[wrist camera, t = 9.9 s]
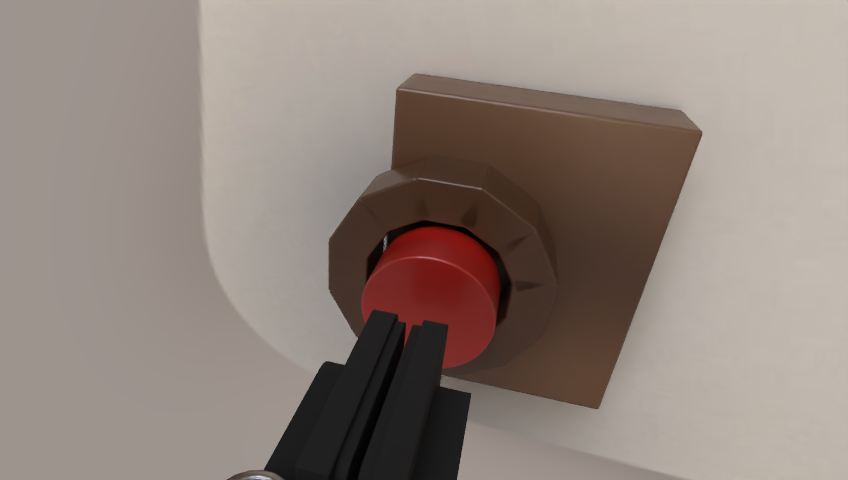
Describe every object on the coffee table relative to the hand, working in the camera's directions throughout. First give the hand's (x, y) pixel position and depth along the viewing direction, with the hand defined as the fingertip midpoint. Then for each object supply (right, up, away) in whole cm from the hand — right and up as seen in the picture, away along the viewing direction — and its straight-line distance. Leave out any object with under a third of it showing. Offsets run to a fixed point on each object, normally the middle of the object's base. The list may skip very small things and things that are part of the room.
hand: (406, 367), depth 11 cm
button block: (+4, +3, +6) cm, 8 cm away
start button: (+1, +2, +3) cm, 4 cm away
